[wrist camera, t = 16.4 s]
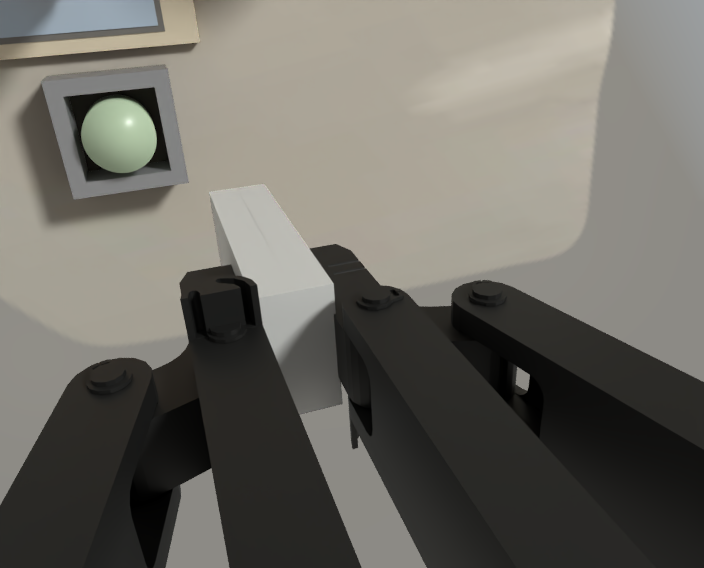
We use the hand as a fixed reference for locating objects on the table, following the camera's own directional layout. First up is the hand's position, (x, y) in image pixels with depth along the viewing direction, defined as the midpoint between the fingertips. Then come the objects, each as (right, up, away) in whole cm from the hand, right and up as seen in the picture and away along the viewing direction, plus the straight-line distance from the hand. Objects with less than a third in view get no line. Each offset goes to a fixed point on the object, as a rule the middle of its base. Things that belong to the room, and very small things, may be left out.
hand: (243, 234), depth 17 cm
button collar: (-10, +7, +17) cm, 21 cm away
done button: (-10, +7, +16) cm, 20 cm away
